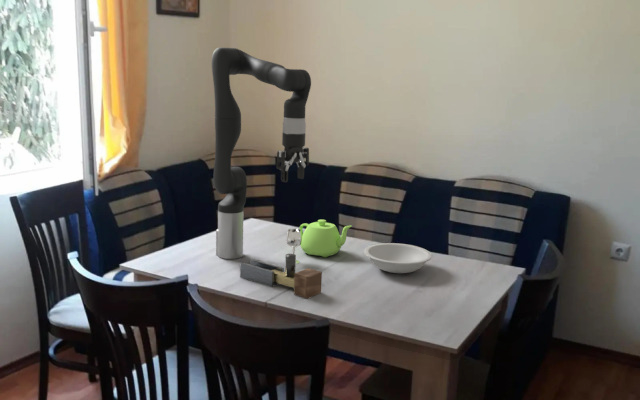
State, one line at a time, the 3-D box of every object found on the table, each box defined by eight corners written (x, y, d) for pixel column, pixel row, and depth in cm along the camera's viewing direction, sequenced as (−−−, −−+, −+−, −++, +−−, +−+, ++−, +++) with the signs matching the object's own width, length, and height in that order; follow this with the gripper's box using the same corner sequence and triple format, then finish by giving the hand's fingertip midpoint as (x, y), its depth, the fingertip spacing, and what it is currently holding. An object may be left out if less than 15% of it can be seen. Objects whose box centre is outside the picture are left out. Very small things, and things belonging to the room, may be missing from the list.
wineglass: (299, 265, 230) (300, 233, 228) (283, 263, 231) (284, 231, 229) (302, 260, 236) (303, 229, 233) (287, 258, 237) (288, 227, 234)
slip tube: (267, 280, 210) (268, 251, 208) (274, 277, 212) (274, 249, 210) (306, 291, 201) (307, 261, 199) (312, 289, 203) (313, 259, 201)
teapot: (357, 253, 248) (358, 220, 245) (342, 263, 234) (344, 229, 231) (305, 244, 256) (306, 212, 253) (289, 254, 243) (290, 220, 240)
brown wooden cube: (294, 294, 202) (294, 273, 200) (307, 288, 207) (308, 268, 206) (307, 298, 198) (308, 277, 197) (321, 292, 204) (321, 271, 202)
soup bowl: (368, 257, 243) (368, 240, 241) (431, 263, 238) (433, 246, 237) (358, 277, 220) (359, 259, 218) (429, 284, 215) (430, 266, 214)
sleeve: (240, 277, 215) (240, 263, 214) (252, 272, 220) (252, 259, 219) (272, 286, 207) (272, 272, 206) (283, 282, 212) (284, 267, 211)
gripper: (298, 129, 217) (296, 176, 220) (271, 132, 205) (270, 181, 209) (316, 131, 212) (314, 179, 216) (289, 134, 201) (287, 184, 204)
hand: (292, 180), depth 212 cm, fingers open, 8 cm apart
